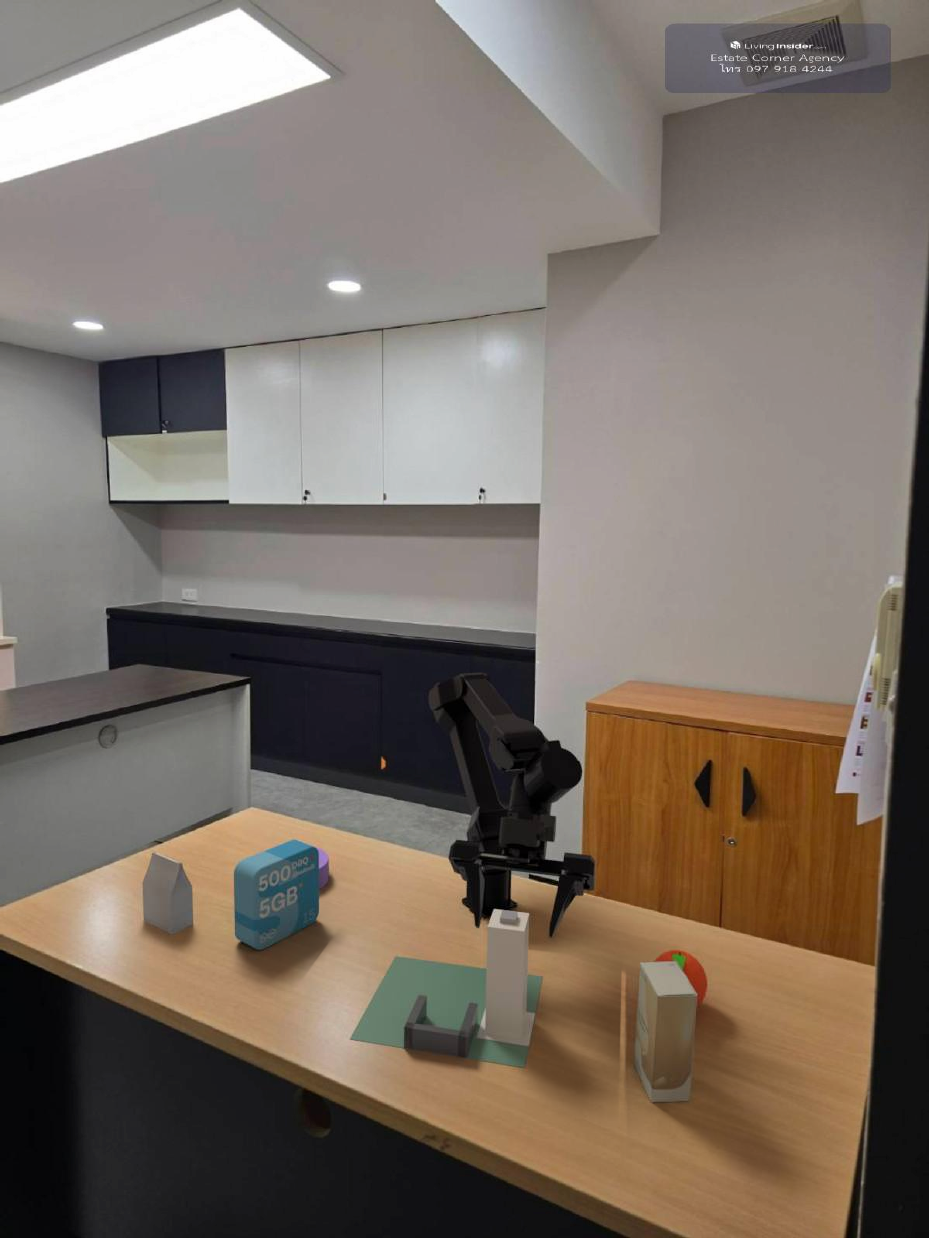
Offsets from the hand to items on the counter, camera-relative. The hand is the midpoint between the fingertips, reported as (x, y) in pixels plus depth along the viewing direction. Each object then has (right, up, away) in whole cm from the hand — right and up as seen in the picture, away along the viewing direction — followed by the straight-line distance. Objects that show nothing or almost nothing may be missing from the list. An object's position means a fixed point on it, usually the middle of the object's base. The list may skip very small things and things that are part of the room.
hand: (513, 932), depth 95 cm
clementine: (+20, -10, 0) cm, 23 cm away
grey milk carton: (-50, -6, +19) cm, 54 cm away
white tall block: (-1, -9, -5) cm, 10 cm away
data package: (-33, -7, +17) cm, 38 cm away
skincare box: (+15, -11, -13) cm, 23 cm away
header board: (-8, -9, -2) cm, 12 cm away
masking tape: (-35, -5, +33) cm, 48 cm away
